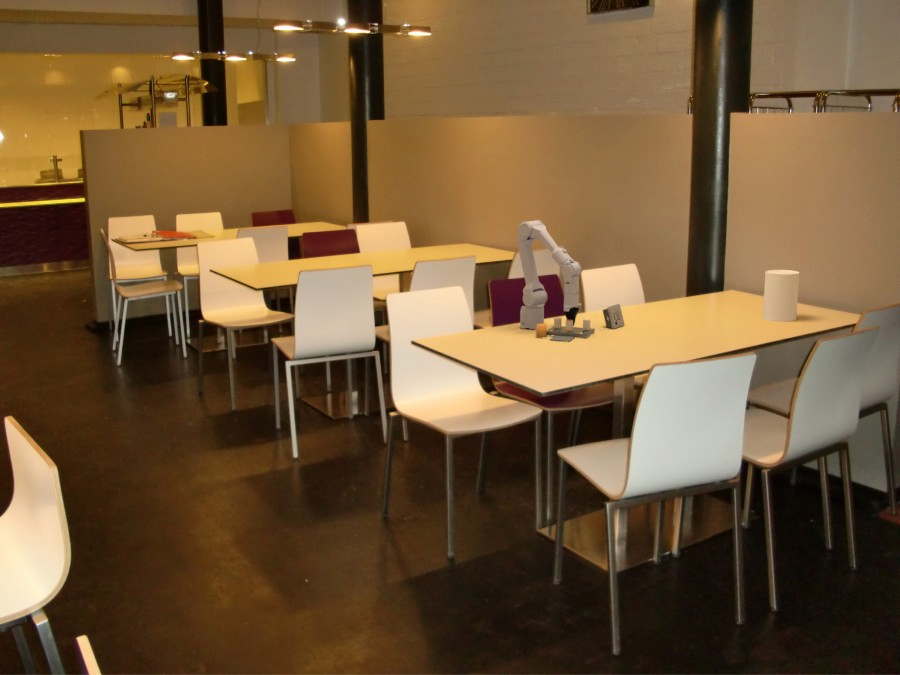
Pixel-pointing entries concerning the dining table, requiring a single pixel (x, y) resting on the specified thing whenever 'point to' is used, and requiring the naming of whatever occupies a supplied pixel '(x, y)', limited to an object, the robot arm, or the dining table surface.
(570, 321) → the block
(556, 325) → the block
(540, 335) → the cap
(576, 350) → the dining table surface
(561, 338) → the mat
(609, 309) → the electrical switch
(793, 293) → the canister
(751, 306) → the dining table surface
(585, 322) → the block
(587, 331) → the panel
